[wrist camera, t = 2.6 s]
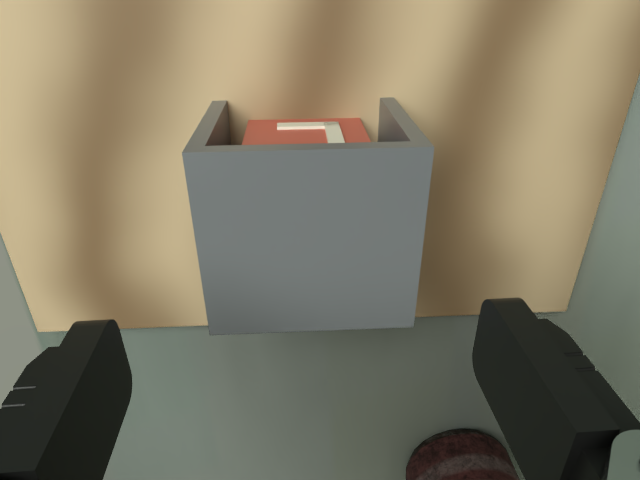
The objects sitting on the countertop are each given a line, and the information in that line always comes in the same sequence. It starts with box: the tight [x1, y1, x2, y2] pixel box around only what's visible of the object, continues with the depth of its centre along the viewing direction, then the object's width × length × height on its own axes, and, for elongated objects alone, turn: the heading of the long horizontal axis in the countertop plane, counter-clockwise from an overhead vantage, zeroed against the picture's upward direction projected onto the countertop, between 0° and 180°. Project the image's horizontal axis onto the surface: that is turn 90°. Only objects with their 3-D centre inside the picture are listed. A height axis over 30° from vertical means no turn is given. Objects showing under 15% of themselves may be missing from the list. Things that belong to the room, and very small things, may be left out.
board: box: [0, 0, 640, 332], centre depth 19 cm, size 24×14×1 cm, turn 90°
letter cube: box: [242, 118, 371, 145], centre depth 16 cm, size 4×4×4 cm
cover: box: [182, 97, 434, 335], centre depth 16 cm, size 6×6×6 cm
